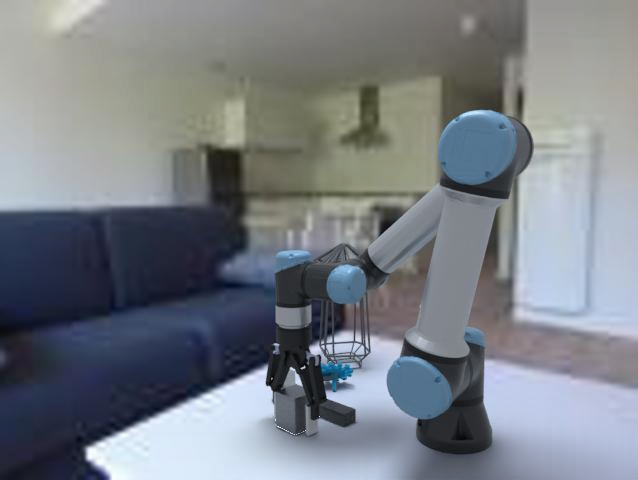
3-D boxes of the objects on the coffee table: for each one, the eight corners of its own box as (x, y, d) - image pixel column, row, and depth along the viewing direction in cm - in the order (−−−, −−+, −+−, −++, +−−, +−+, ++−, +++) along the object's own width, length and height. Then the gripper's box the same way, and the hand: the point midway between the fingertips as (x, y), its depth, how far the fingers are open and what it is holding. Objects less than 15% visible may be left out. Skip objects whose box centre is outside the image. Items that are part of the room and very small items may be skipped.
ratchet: (359, 419, 126) (359, 388, 125) (339, 428, 121) (339, 397, 121) (287, 392, 142) (286, 365, 142) (267, 399, 138) (266, 371, 137)
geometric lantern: (313, 358, 168) (311, 241, 164) (364, 355, 171) (364, 239, 167) (323, 377, 153) (321, 247, 149) (379, 372, 156) (379, 245, 152)
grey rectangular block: (315, 426, 123) (315, 390, 122) (295, 436, 118) (294, 398, 117) (296, 418, 127) (295, 384, 126) (276, 427, 122) (275, 391, 122)
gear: (355, 374, 149) (349, 357, 142) (356, 396, 146) (351, 379, 138) (313, 379, 151) (306, 362, 143) (314, 400, 147) (306, 384, 139)
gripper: (344, 329, 115) (345, 436, 118) (273, 312, 130) (275, 407, 133) (318, 337, 110) (319, 448, 112) (247, 318, 125) (249, 416, 128)
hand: (295, 426), depth 123 cm, fingers open, 9 cm apart
